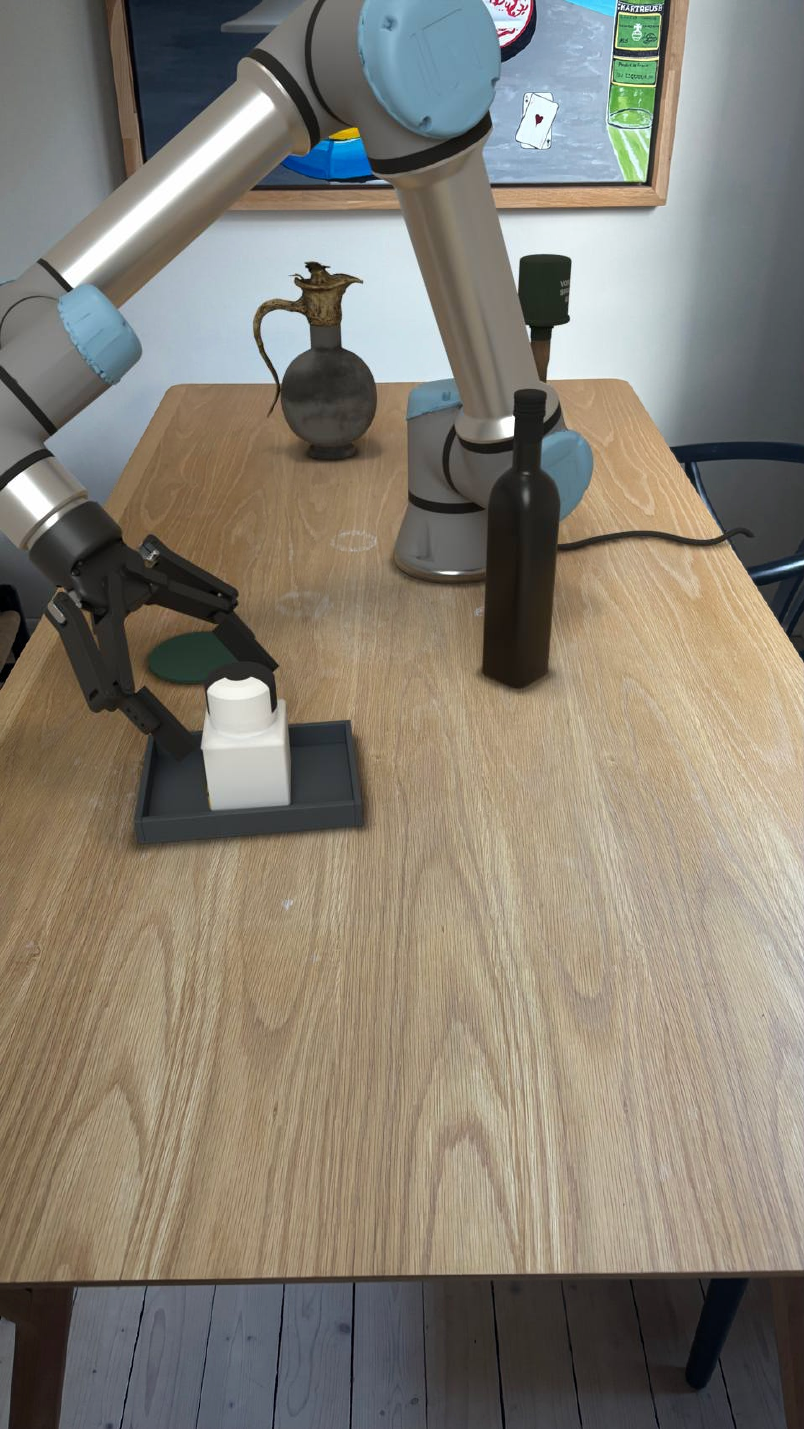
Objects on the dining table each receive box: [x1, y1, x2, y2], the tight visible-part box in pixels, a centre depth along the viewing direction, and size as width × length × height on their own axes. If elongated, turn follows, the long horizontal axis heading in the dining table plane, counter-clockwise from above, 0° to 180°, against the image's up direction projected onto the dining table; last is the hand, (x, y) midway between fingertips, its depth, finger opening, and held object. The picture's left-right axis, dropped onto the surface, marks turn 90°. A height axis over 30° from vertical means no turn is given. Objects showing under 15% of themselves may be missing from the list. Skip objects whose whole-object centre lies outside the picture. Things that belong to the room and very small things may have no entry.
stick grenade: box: [517, 253, 573, 383], centre depth 162 cm, size 8×9×30 cm
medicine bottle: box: [201, 662, 291, 811], centre depth 90 cm, size 7×7×12 cm
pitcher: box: [252, 260, 378, 461], centre depth 163 cm, size 11×19×30 cm, turn 97°
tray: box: [133, 719, 364, 845], centre depth 93 cm, size 19×13×2 cm
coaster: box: [147, 630, 239, 685], centre depth 114 cm, size 11×11×1 cm
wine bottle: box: [481, 389, 561, 690], centre depth 102 cm, size 6×6×30 cm
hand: (232, 712), depth 89 cm, fingers open, 13 cm apart
